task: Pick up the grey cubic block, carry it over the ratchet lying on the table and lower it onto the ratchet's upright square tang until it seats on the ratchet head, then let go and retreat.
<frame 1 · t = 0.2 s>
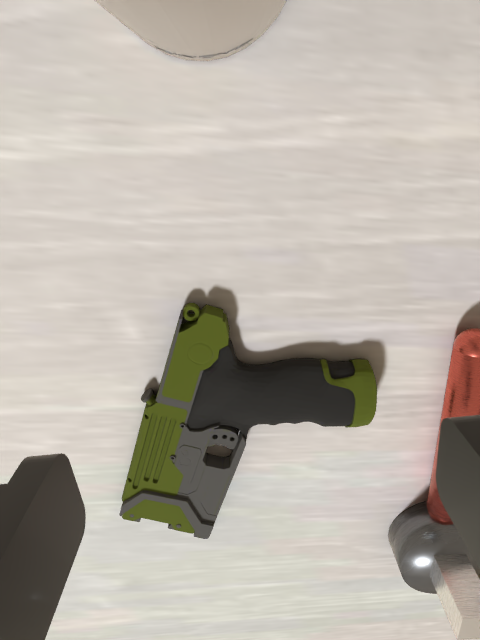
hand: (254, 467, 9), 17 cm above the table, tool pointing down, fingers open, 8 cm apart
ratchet: (430, 530, 36), on the table
gun: (240, 432, 32), on the table
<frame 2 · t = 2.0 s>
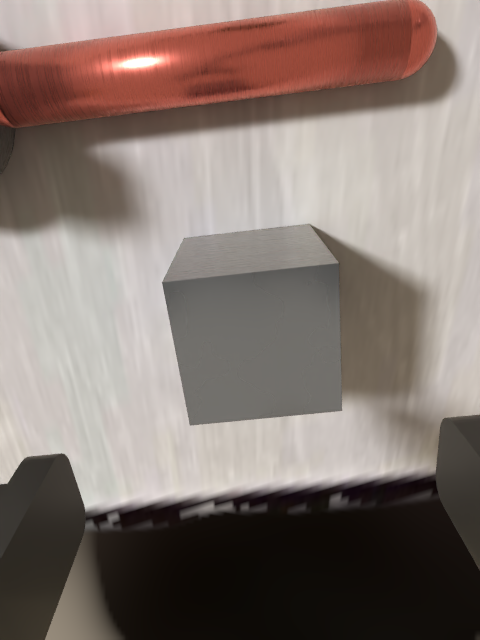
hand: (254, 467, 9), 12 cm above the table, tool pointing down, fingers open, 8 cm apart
grey cubic block: (252, 290, 20), on the table
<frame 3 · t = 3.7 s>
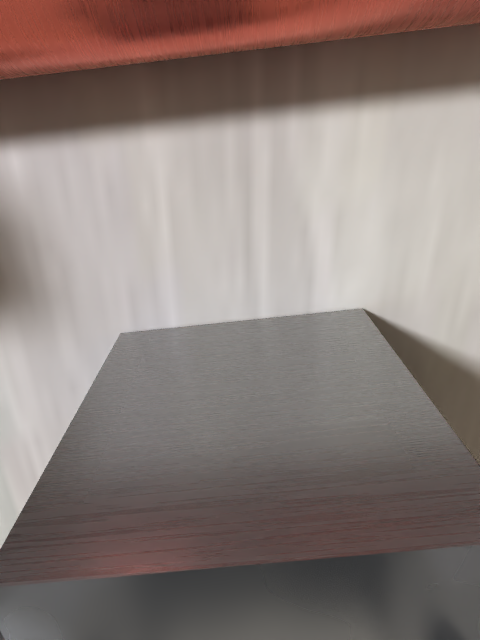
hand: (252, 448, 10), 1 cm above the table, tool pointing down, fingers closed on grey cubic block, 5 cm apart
grey cubic block: (252, 420, 11), on the table, touching gripper
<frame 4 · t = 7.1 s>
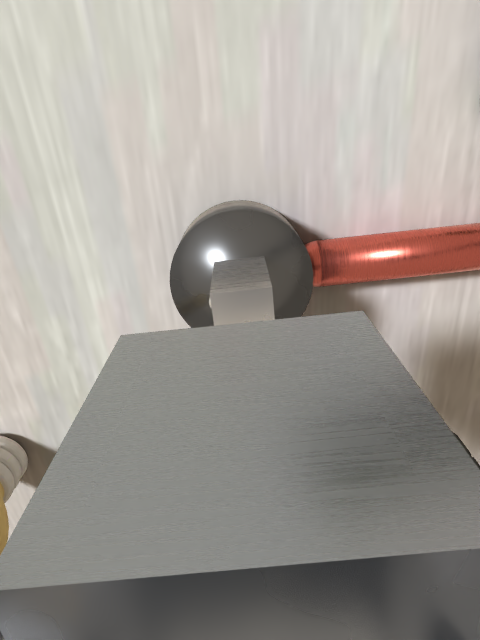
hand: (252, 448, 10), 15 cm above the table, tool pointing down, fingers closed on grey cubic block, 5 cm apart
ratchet: (240, 265, 24), on the table
grey cubic block: (252, 422, 11), point 14 cm above the table, touching gripper
light bulb: (4, 450, 29), on the table
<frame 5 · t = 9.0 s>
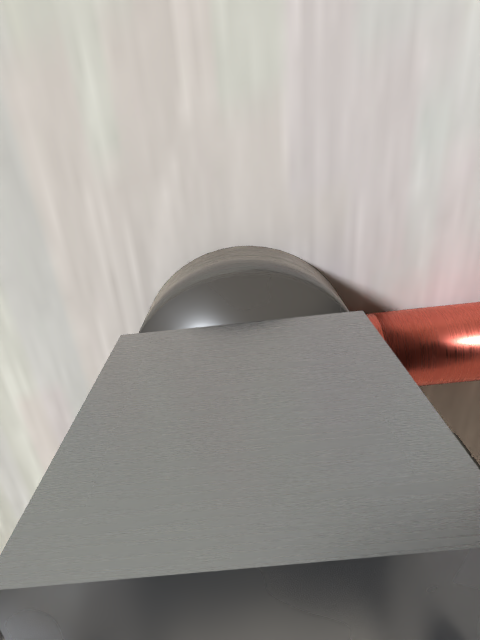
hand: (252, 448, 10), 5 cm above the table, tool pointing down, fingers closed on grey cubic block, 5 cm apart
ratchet: (247, 346, 15), on the table
grey cubic block: (252, 422, 11), point 4 cm above the table, touching gripper
when the fingers open (4 cm above the table, at t = 10.5 s): grey cubic block stays where it is, resting on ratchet.
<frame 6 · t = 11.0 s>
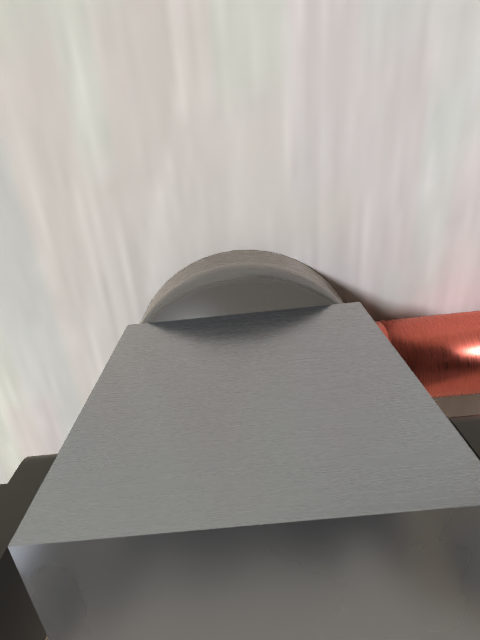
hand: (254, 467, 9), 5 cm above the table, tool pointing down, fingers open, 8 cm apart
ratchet: (246, 355, 14), on the table, touching grey cubic block
grey cubic block: (253, 410, 11), point 3 cm above the table, touching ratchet
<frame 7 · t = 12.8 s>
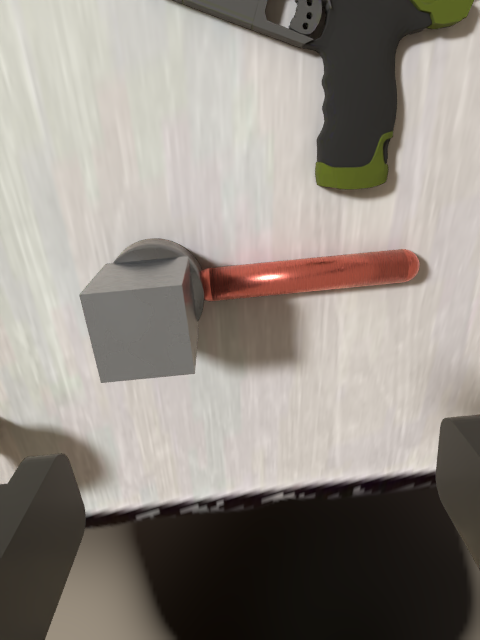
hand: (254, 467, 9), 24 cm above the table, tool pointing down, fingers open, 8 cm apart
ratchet: (158, 284, 32), on the table, touching grey cubic block
gun: (288, 42, 27), on the table
grey cubic block: (154, 298, 30), point 3 cm above the table, touching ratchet
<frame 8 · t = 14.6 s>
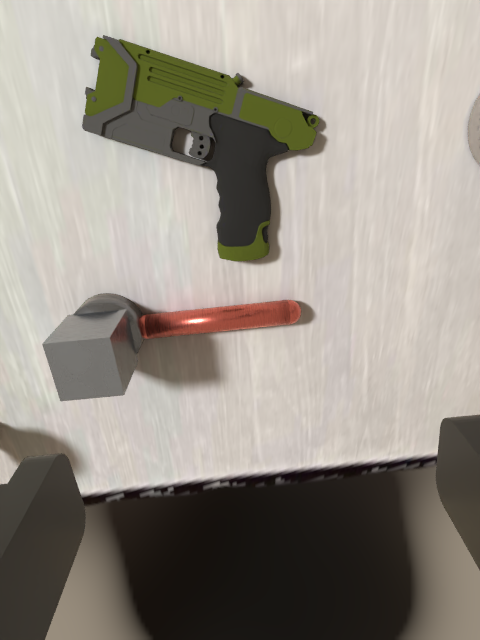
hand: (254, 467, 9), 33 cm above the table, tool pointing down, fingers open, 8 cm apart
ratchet: (111, 325, 44), on the table, touching grey cubic block
gun: (193, 159, 39), on the table
grey cubic block: (104, 338, 41), point 3 cm above the table, touching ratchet
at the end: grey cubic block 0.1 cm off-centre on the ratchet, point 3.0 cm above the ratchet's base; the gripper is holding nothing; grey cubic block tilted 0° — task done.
